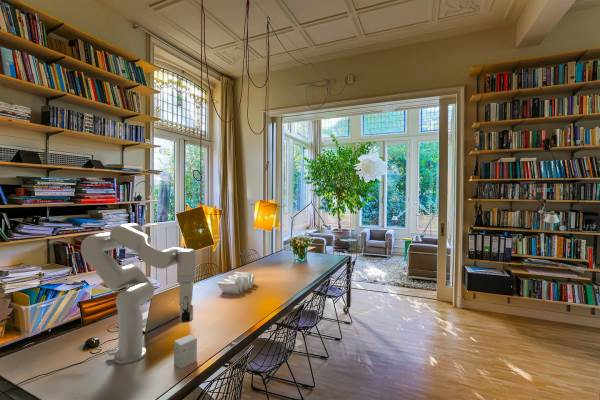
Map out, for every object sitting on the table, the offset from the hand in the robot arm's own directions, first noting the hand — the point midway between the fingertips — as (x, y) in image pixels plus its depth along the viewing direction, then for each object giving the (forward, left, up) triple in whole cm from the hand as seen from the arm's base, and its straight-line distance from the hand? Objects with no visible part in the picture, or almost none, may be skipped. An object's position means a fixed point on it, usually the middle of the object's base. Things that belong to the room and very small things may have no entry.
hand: (186, 317), depth 127 cm
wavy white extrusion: (+33, +92, -20) cm, 100 cm away
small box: (0, 0, -20) cm, 20 cm away
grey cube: (0, 0, -1) cm, 1 cm away
